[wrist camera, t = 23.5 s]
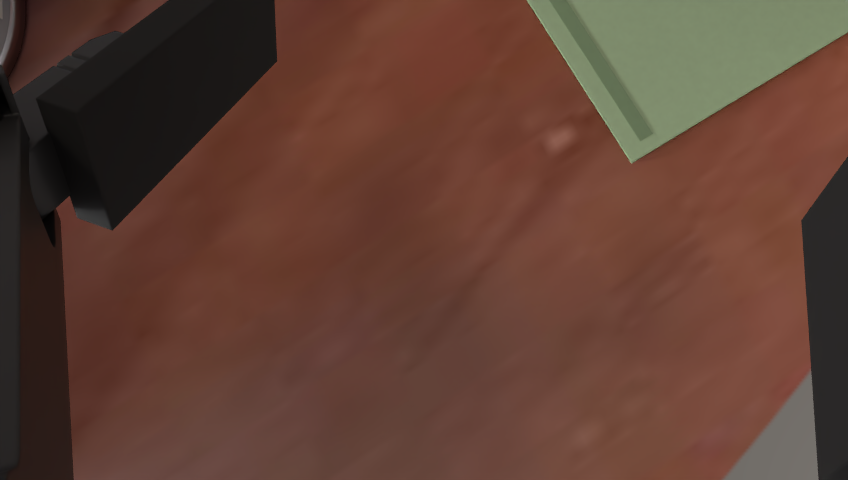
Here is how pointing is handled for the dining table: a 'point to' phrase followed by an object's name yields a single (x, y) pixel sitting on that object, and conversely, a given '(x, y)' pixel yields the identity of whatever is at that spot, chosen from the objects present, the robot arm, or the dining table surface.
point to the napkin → (681, 55)
